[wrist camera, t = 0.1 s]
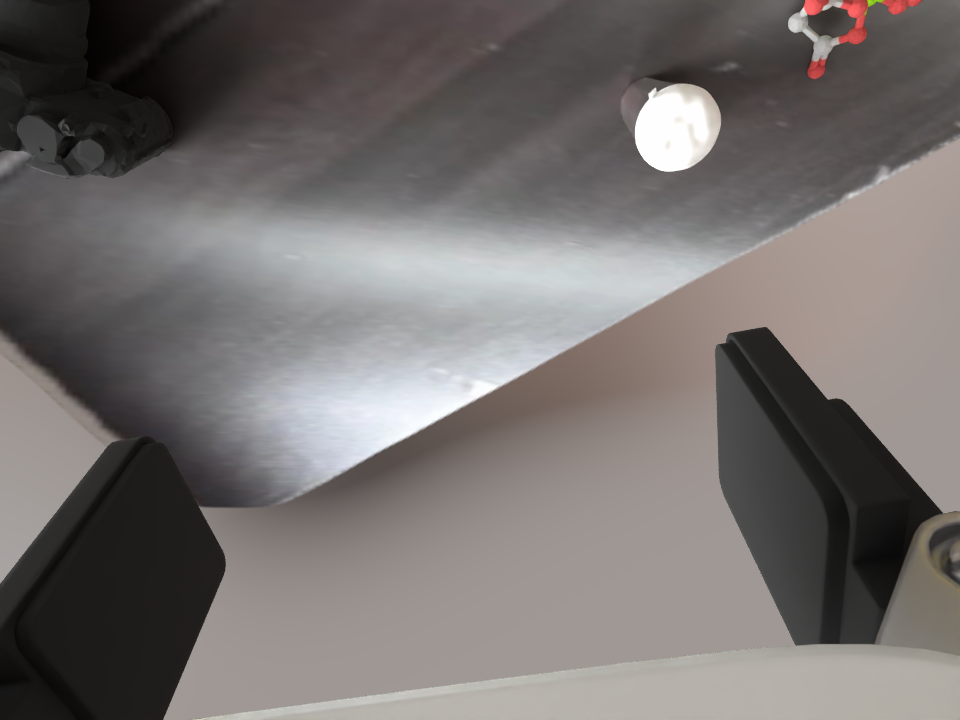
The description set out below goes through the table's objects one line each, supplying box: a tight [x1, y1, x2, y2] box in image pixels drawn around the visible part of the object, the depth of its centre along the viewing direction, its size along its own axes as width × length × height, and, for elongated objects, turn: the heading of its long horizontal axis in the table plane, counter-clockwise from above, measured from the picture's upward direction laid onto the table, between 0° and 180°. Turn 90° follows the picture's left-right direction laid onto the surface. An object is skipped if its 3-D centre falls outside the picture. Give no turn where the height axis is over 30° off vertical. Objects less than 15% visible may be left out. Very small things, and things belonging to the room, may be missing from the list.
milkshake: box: [621, 77, 721, 171], centre depth 39 cm, size 4×5×10 cm
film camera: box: [0, 0, 174, 178], centre depth 38 cm, size 15×10×9 cm, turn 67°
